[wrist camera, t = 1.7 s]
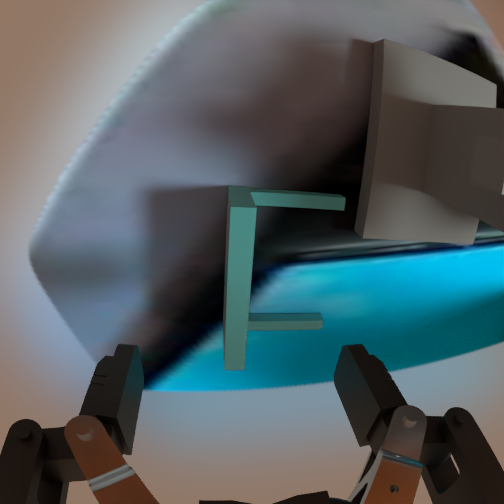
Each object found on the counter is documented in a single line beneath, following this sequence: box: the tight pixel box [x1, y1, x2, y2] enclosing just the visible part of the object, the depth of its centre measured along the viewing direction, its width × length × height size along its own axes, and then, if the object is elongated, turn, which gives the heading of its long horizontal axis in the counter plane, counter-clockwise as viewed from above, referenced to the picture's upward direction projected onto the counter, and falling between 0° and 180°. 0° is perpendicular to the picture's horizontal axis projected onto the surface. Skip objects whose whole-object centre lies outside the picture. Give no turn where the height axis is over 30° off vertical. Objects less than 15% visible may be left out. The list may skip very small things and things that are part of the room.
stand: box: [354, 39, 504, 244], centre depth 14 cm, size 10×13×12 cm
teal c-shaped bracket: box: [223, 186, 346, 370], centre depth 19 cm, size 7×10×5 cm
